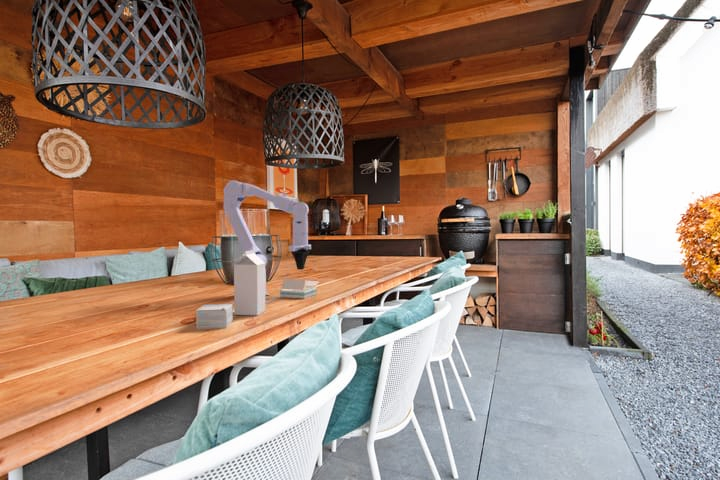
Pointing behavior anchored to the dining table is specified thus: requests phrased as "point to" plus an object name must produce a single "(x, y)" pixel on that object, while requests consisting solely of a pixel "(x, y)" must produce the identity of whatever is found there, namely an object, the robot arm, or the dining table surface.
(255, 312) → the milk carton
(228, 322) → the small box
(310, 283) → the flap far
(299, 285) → the flap near
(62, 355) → the dining table surface
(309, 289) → the carton
